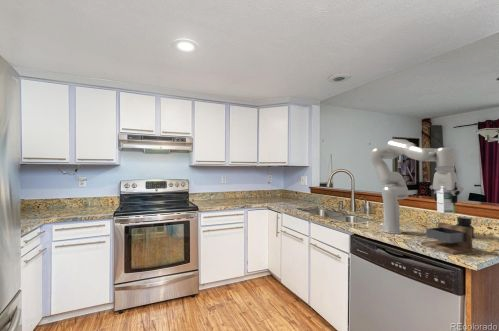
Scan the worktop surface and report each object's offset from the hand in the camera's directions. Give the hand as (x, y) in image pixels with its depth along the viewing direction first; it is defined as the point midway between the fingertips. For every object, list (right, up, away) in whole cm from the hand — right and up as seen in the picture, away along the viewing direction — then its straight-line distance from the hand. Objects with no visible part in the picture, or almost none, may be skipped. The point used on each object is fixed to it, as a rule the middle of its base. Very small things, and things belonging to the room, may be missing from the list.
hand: (445, 201), depth 129 cm
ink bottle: (+31, -26, +23) cm, 47 cm away
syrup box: (0, -6, 0) cm, 6 cm away
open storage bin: (0, -20, 0) cm, 20 cm away
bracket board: (0, -25, 0) cm, 25 cm away
